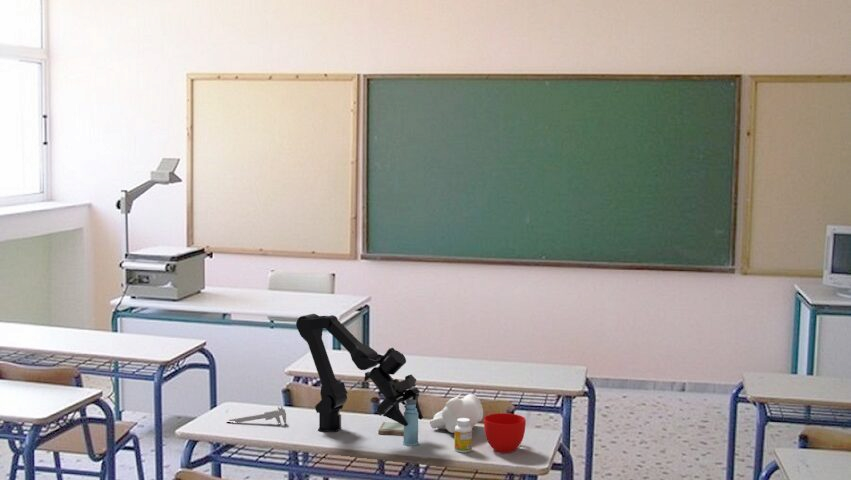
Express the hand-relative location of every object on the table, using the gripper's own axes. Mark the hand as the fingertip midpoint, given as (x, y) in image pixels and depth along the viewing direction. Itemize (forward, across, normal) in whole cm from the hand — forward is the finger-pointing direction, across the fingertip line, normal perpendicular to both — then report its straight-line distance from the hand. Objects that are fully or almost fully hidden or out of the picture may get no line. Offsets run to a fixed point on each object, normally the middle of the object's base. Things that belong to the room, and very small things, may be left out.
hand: (414, 421), depth 318 cm
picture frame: (-4, +10, +14) cm, 18 cm away
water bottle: (+4, 0, +6) cm, 7 cm away
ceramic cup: (+24, +11, -13) cm, 30 cm away
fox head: (+8, +20, +3) cm, 21 cm away
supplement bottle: (+17, +3, -6) cm, 18 cm away
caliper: (-36, -7, +46) cm, 59 cm away
